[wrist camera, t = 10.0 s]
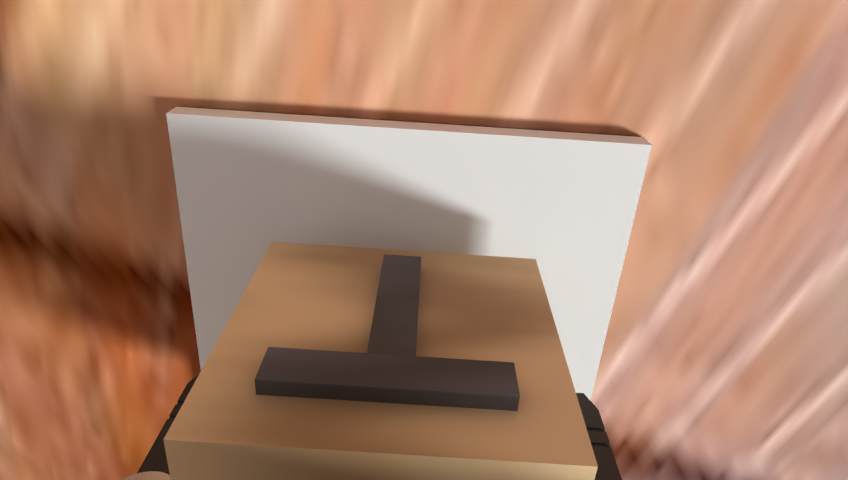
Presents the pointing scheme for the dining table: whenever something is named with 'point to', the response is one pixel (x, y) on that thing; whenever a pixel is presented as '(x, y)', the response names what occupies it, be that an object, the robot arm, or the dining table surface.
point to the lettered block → (384, 374)
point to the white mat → (407, 205)
